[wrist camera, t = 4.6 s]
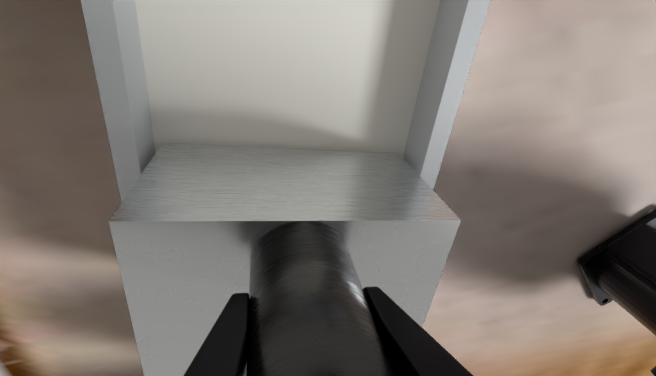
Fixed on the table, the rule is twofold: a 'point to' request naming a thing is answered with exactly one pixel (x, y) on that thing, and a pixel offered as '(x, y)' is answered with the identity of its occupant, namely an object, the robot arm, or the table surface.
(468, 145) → the table surface
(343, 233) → the block
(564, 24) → the table surface
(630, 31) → the table surface
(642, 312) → the robot arm
